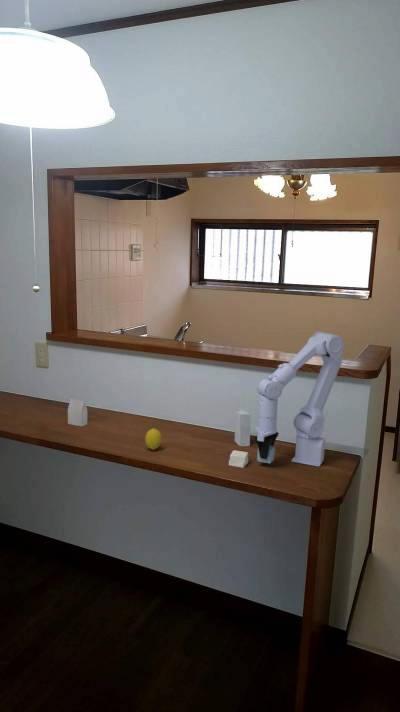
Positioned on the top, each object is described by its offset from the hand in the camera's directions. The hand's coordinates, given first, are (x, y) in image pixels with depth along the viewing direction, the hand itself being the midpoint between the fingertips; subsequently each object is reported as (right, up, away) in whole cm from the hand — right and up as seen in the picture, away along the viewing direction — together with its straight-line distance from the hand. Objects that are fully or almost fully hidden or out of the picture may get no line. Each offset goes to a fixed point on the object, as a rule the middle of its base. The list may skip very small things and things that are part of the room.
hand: (265, 455), depth 169 cm
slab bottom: (-9, -3, +1) cm, 10 cm away
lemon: (-38, 0, +11) cm, 40 cm away
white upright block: (-71, +5, +37) cm, 80 cm away
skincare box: (-6, 0, +21) cm, 22 cm away
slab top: (-9, -1, +1) cm, 9 cm away
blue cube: (0, -2, 0) cm, 2 cm away
